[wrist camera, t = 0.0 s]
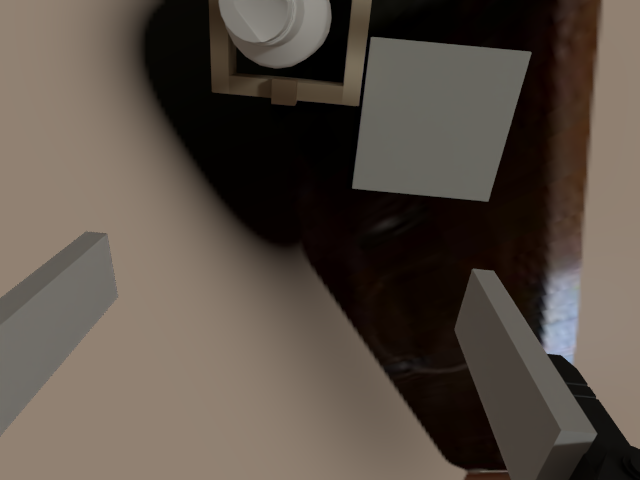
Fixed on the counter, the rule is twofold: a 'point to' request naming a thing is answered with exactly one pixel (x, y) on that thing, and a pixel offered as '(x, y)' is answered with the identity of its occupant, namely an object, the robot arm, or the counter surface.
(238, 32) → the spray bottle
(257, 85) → the wooden square frame
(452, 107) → the mat
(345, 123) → the counter surface
